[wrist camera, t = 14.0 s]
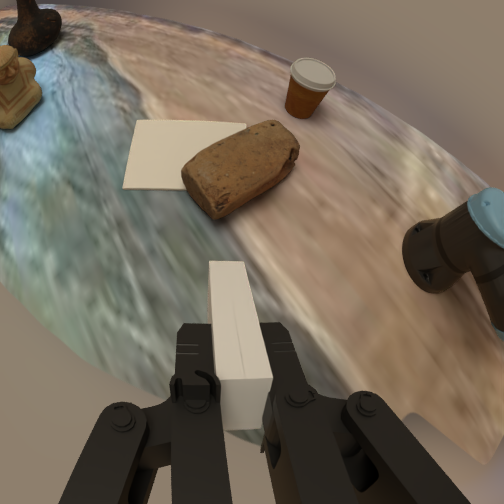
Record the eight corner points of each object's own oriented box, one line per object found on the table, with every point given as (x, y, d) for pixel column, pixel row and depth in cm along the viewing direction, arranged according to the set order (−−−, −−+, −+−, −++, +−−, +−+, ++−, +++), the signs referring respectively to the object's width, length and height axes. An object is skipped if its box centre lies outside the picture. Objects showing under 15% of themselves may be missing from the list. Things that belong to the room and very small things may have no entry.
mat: (245, 125, 60) (246, 123, 59) (247, 193, 55) (247, 191, 54) (137, 121, 56) (137, 120, 55) (123, 189, 51) (122, 188, 50)
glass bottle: (50, 59, 59) (29, -20, 33) (4, 68, 56) (-21, 0, 30) (74, 27, 65) (62, -44, 39) (30, 35, 62) (13, -28, 36)
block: (176, 157, 45) (273, 111, 52) (177, 183, 52) (264, 137, 59) (217, 208, 43) (314, 152, 50) (213, 230, 50) (301, 176, 57)
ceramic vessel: (10, 147, 49) (-37, 69, 26) (-20, 122, 50) (-59, 56, 26) (62, 96, 55) (35, 12, 32) (24, 78, 56) (-1, 9, 33)
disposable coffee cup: (269, 101, 63) (282, 61, 52) (299, 90, 66) (315, 53, 55) (297, 130, 62) (315, 90, 50) (326, 116, 65) (346, 80, 53)
